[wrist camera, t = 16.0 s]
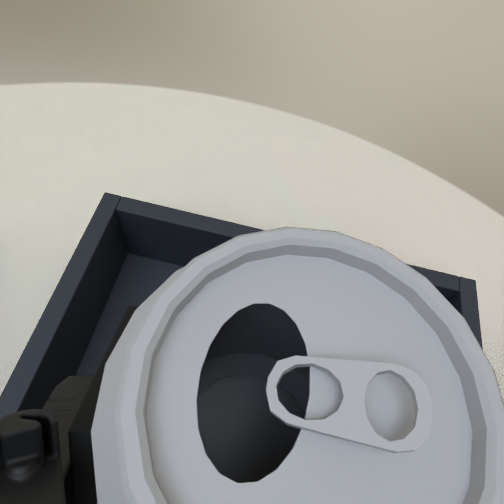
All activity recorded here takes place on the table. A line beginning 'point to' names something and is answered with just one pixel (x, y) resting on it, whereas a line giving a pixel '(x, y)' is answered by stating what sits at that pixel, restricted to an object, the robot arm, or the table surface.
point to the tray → (135, 290)
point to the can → (298, 384)
